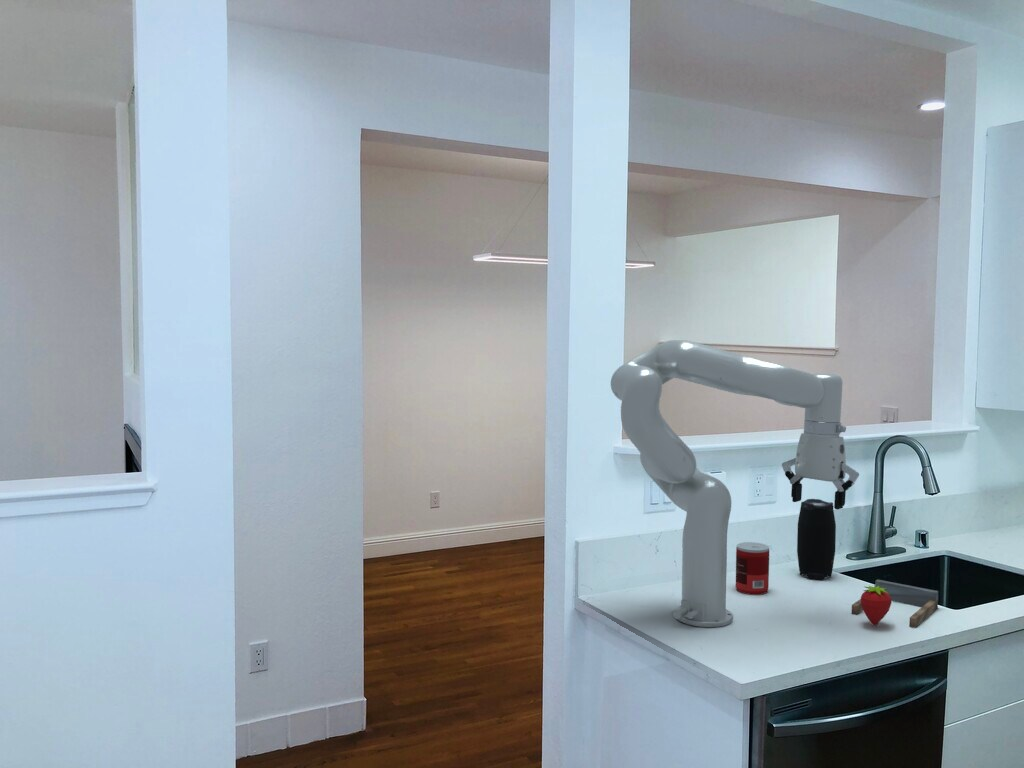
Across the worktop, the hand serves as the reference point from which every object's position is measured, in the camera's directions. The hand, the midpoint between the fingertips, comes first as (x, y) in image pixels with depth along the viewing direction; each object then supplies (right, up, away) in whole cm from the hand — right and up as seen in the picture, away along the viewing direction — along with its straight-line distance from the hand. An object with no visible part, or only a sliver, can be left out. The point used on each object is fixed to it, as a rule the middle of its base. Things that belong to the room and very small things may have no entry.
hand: (817, 504), depth 186 cm
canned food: (-10, -24, +17) cm, 31 cm away
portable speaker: (+10, -23, +29) cm, 38 cm away
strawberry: (+10, -25, -7) cm, 28 cm away
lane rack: (+18, -24, +2) cm, 30 cm away
